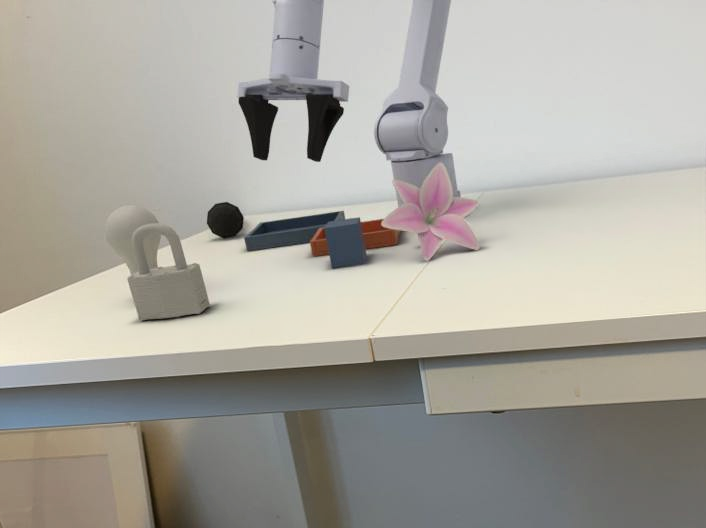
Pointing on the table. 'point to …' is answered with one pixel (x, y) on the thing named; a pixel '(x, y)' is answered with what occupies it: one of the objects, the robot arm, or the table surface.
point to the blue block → (345, 242)
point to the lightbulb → (121, 233)
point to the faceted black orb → (225, 220)
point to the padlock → (165, 280)
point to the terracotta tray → (372, 236)
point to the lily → (433, 213)
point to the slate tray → (288, 230)
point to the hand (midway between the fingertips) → (286, 159)
